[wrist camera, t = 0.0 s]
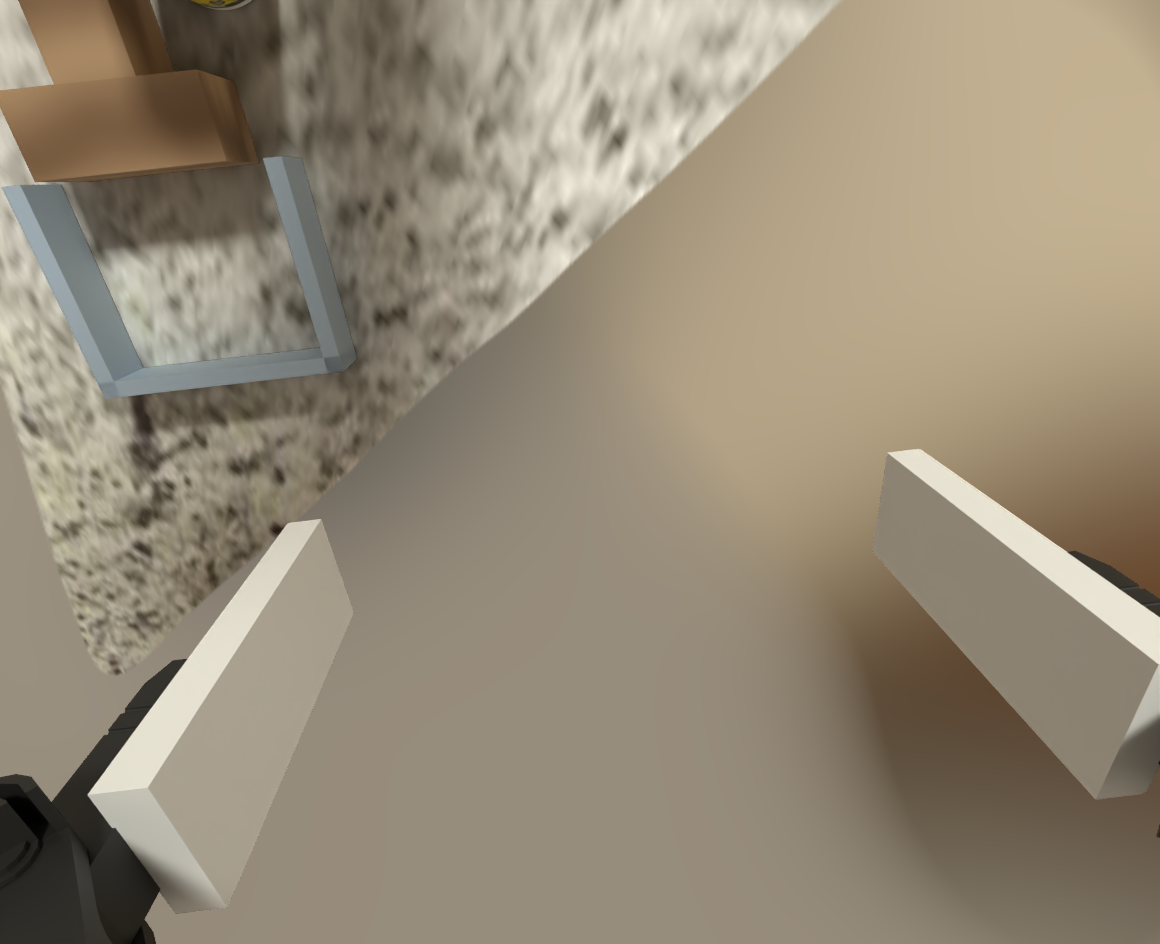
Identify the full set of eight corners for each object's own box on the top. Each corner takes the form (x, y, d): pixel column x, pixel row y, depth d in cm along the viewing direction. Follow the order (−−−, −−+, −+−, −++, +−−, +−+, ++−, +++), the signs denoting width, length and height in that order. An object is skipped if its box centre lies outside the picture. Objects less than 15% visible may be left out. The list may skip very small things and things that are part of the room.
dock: (43, 186, 34) (1, 187, 31) (301, 158, 34) (281, 156, 31) (134, 383, 39) (105, 398, 37) (357, 358, 40) (343, 371, 37)
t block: (-29, -90, 29) (-110, -129, 25) (175, -112, 29) (123, -153, 25) (87, 181, 34) (35, 181, 30) (259, 162, 34) (226, 160, 31)
